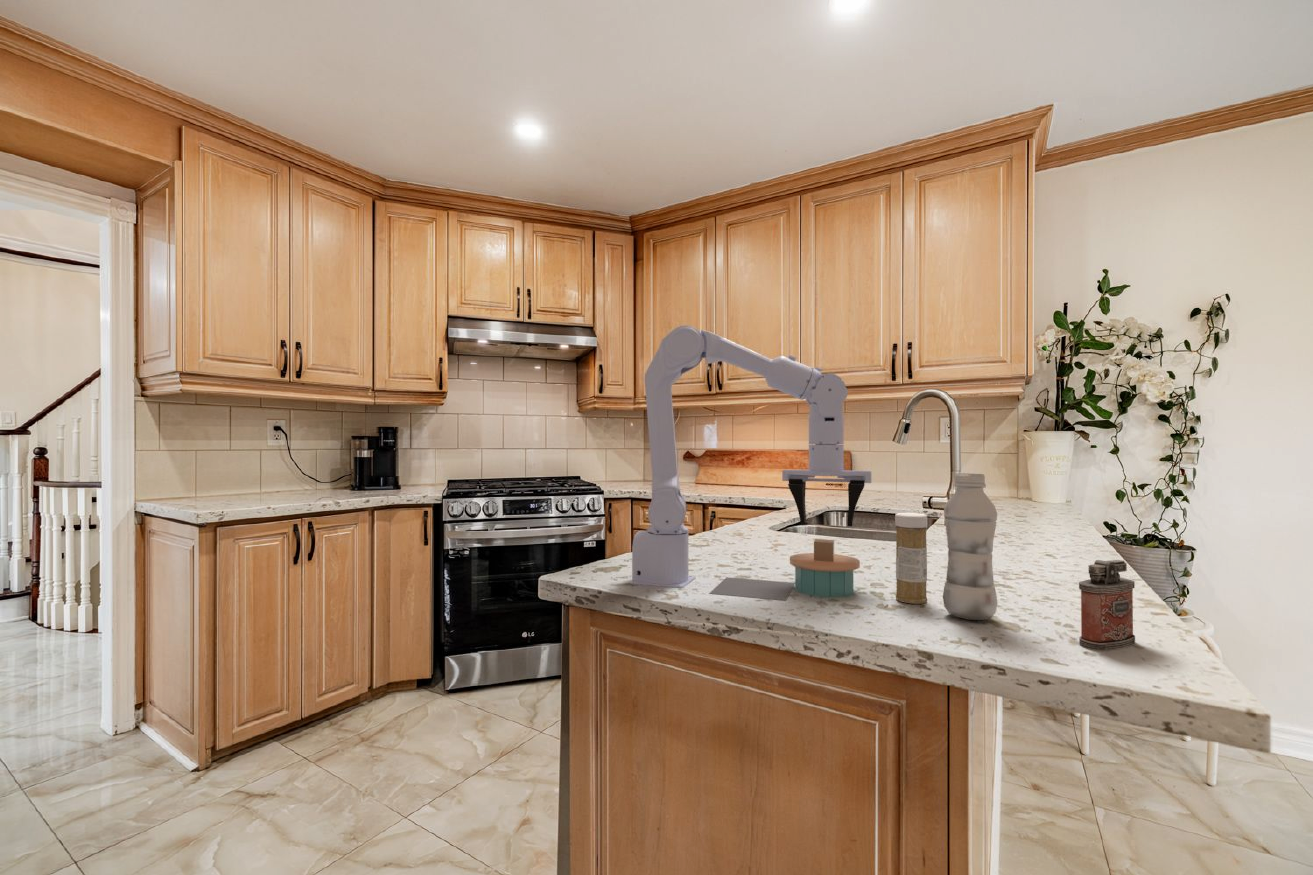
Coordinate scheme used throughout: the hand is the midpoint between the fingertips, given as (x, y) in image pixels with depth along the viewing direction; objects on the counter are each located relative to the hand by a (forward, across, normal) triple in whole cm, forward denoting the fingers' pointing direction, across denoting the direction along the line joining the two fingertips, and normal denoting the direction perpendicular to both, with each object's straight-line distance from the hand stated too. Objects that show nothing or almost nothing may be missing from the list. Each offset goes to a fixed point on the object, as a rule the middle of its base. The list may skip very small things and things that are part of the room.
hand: (826, 524), depth 99 cm
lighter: (+11, +34, -18) cm, 40 cm away
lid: (+6, 0, -4) cm, 7 cm away
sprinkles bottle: (+11, +13, -5) cm, 18 cm away
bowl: (+10, 0, -4) cm, 11 cm away
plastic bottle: (+11, +20, -12) cm, 26 cm away
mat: (+10, -11, -8) cm, 17 cm away
